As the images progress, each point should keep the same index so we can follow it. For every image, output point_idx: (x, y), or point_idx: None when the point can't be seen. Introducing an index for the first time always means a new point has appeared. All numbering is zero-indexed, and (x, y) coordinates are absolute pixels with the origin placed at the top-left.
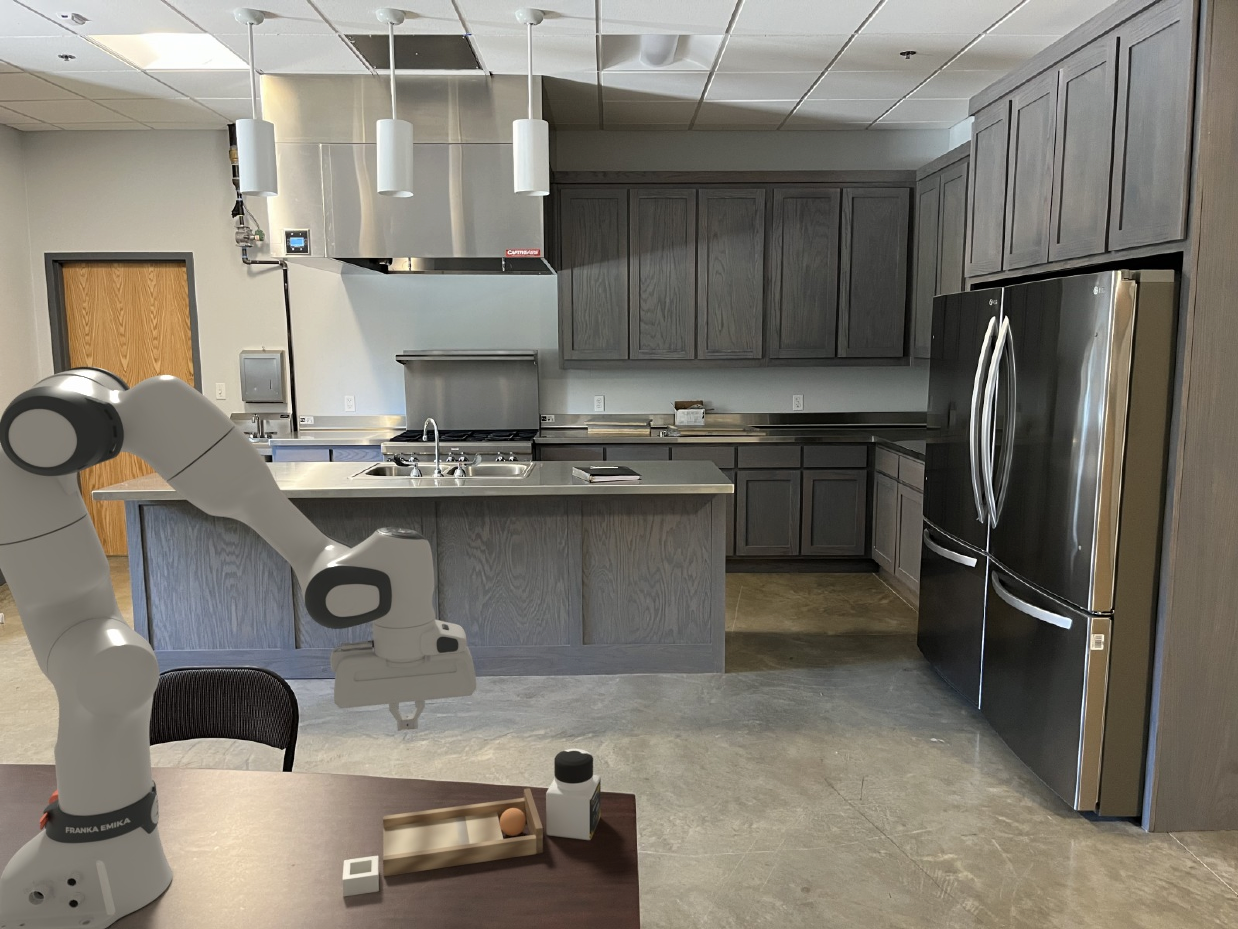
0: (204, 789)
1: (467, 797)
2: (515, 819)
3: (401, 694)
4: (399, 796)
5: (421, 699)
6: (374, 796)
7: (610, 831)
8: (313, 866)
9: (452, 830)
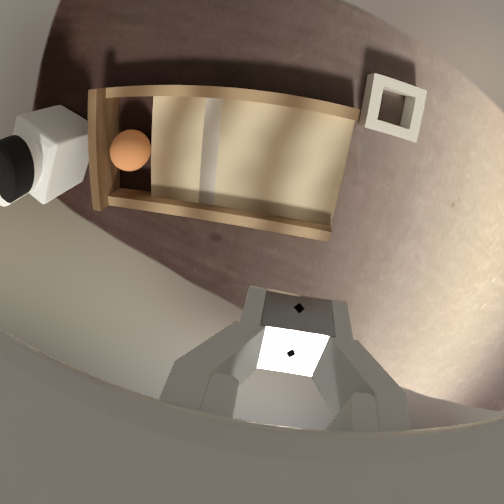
0: (452, 374)
1: (190, 264)
2: (121, 137)
3: (348, 498)
4: None
5: (171, 412)
6: None
7: None
8: (435, 187)
9: (224, 169)
